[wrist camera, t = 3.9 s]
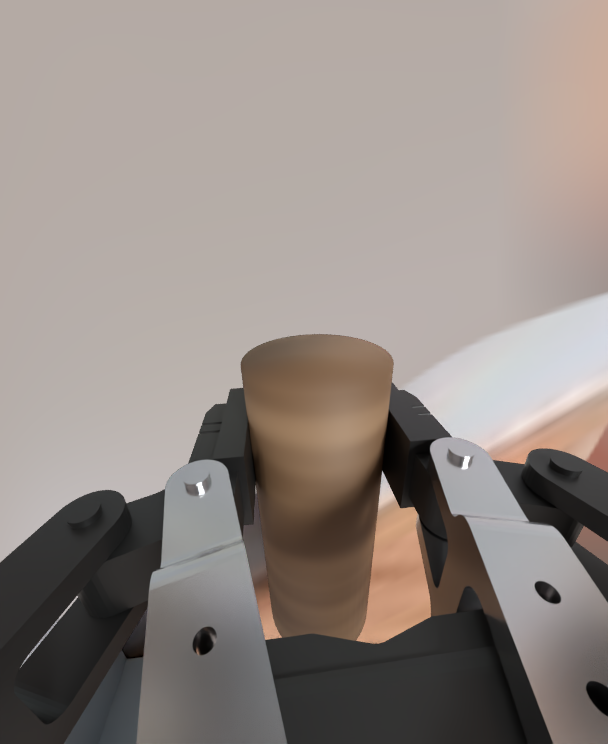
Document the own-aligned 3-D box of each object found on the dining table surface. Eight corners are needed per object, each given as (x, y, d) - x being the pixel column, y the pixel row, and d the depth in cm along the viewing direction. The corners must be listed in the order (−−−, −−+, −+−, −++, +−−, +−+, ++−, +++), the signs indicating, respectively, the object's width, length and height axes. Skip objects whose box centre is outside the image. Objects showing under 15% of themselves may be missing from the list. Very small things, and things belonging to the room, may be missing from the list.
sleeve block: (81, 622, 15) (-69, 929, 9) (236, 602, 16) (212, 872, 9) (112, 675, 18) (13, 949, 11) (247, 655, 18) (234, 903, 11)
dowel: (246, 338, 10) (232, 401, 6) (366, 331, 10) (422, 385, 6) (270, 557, 14) (272, 666, 11) (352, 547, 15) (380, 649, 11)
